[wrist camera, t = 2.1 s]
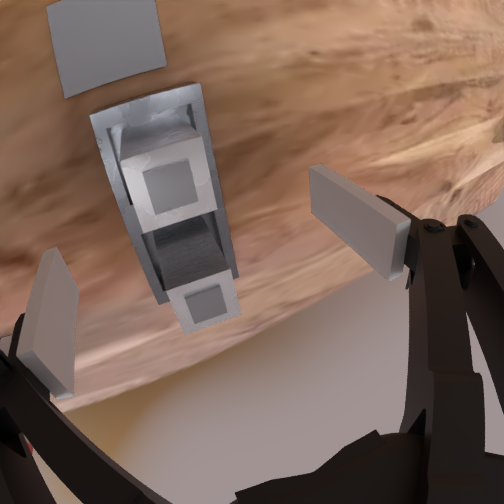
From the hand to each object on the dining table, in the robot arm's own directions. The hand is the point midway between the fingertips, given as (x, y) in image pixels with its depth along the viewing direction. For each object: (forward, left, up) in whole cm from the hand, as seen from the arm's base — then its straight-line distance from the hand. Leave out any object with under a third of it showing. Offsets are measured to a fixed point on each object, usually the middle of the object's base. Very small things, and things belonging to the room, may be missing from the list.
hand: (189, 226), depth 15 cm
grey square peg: (0, 0, -15) cm, 15 cm away
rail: (+5, 0, -15) cm, 16 cm away
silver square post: (+10, 0, -15) cm, 18 cm away
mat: (-12, -2, -15) cm, 19 cm away
